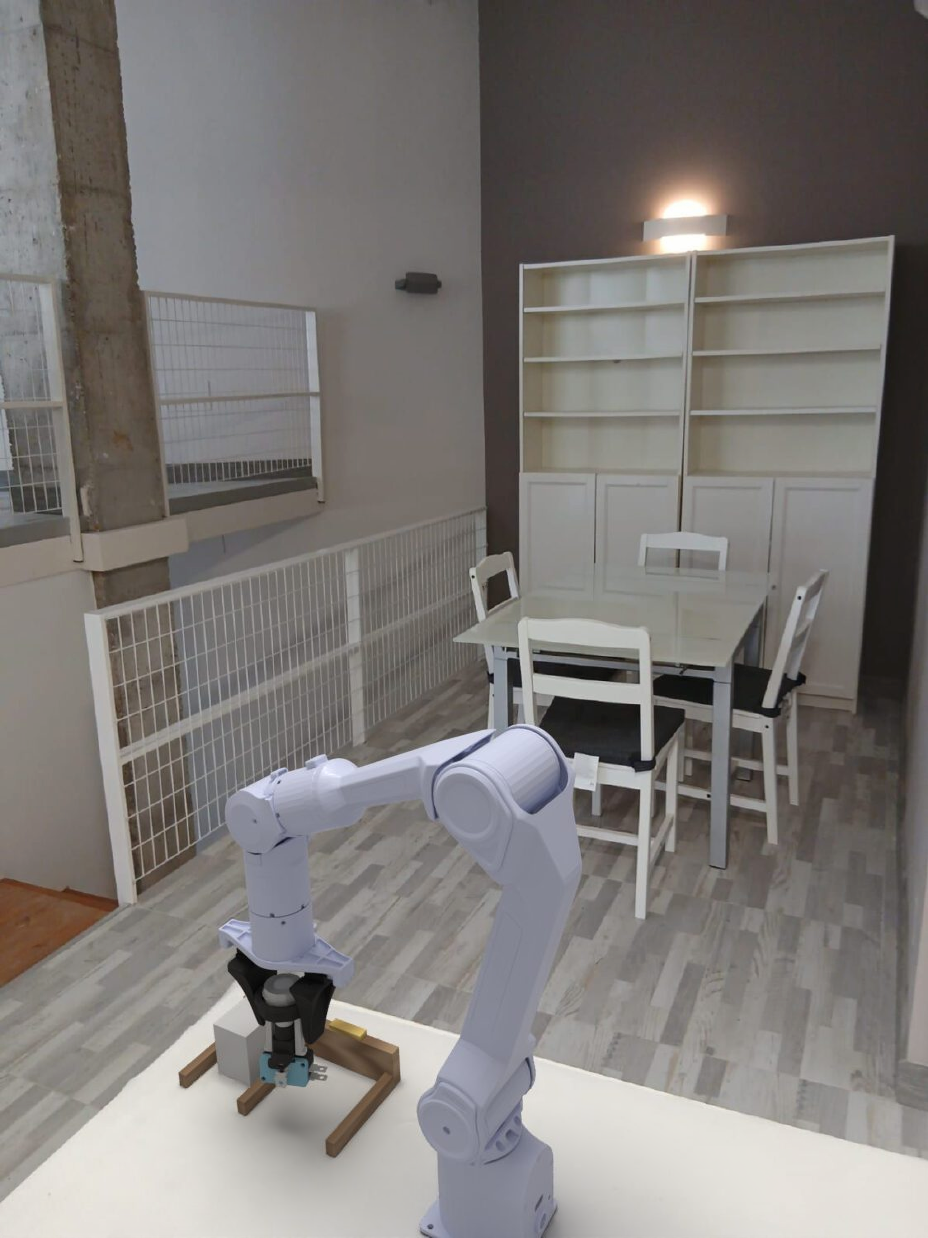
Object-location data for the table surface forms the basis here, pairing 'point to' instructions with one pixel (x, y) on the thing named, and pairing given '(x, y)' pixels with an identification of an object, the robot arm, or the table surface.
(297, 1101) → the table surface
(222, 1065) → the grey plug block
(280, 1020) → the push button
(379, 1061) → the wooden bench frame
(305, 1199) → the table surface
